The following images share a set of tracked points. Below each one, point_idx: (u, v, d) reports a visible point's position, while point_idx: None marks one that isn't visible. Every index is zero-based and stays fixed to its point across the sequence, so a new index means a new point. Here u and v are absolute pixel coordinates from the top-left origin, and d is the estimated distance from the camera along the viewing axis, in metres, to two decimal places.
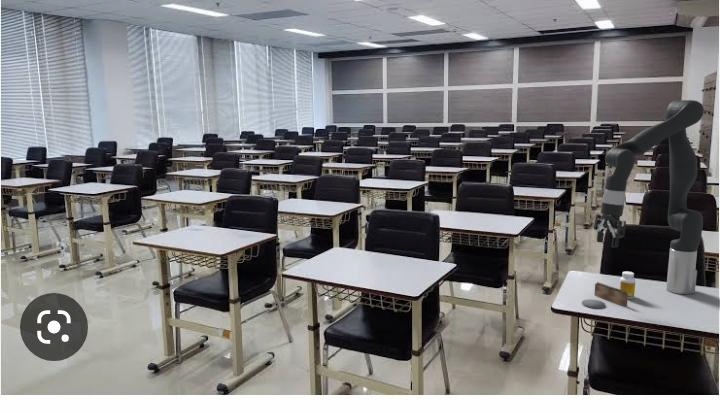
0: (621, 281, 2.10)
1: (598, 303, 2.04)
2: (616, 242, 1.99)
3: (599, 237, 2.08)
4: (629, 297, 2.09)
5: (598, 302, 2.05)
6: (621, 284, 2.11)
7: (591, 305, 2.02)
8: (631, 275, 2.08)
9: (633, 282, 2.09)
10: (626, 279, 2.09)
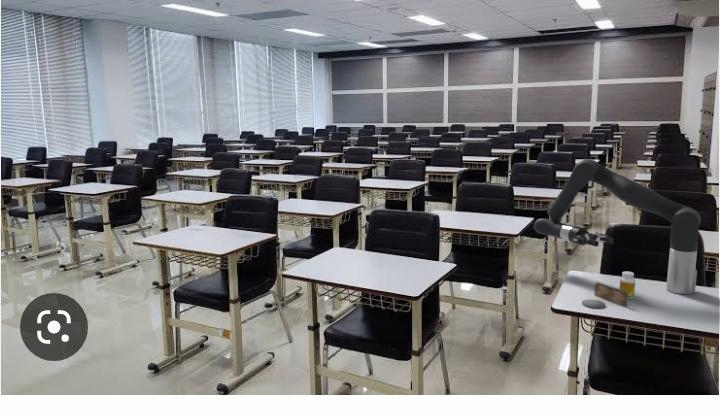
0: (621, 281, 2.10)
1: (598, 303, 2.04)
2: (591, 243, 2.18)
3: (608, 242, 2.22)
4: (629, 297, 2.09)
5: (598, 302, 2.05)
6: (621, 284, 2.11)
7: (591, 305, 2.02)
8: (631, 275, 2.08)
9: (633, 282, 2.09)
10: (626, 279, 2.09)
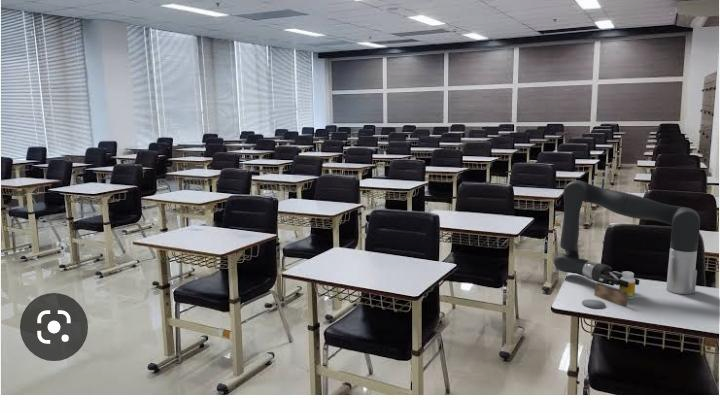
0: None
1: (598, 303, 2.04)
2: (621, 284, 2.09)
3: None
4: (629, 297, 2.09)
5: (598, 302, 2.05)
6: None
7: (591, 305, 2.02)
8: (631, 275, 2.08)
9: (633, 282, 2.09)
10: (626, 279, 2.09)
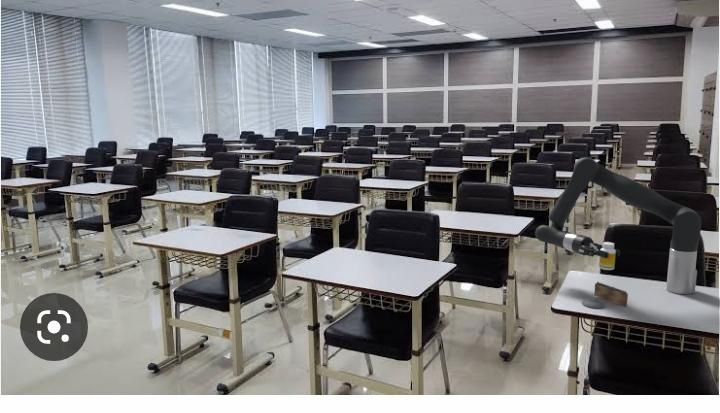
0: None
1: (598, 303, 2.04)
2: (601, 255, 2.02)
3: None
4: (609, 268, 2.02)
5: (598, 302, 2.05)
6: None
7: (591, 305, 2.02)
8: (611, 245, 2.01)
9: (613, 253, 2.01)
10: (606, 250, 2.02)
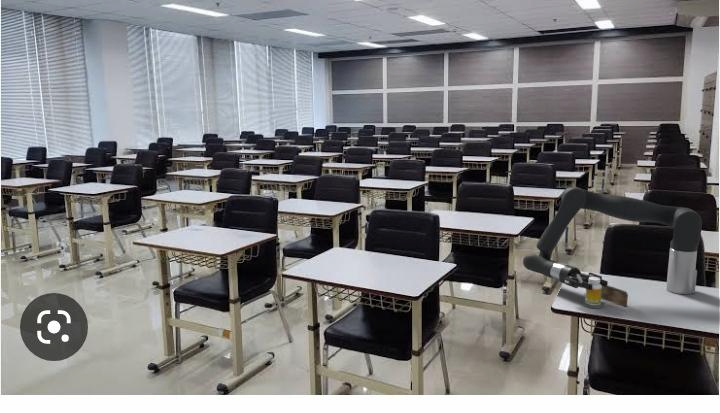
0: None
1: None
2: (585, 287, 2.01)
3: (601, 284, 2.04)
4: (595, 304, 2.02)
5: None
6: (587, 290, 2.03)
7: (591, 305, 2.02)
8: (597, 281, 2.01)
9: (599, 288, 2.01)
10: (592, 285, 2.01)
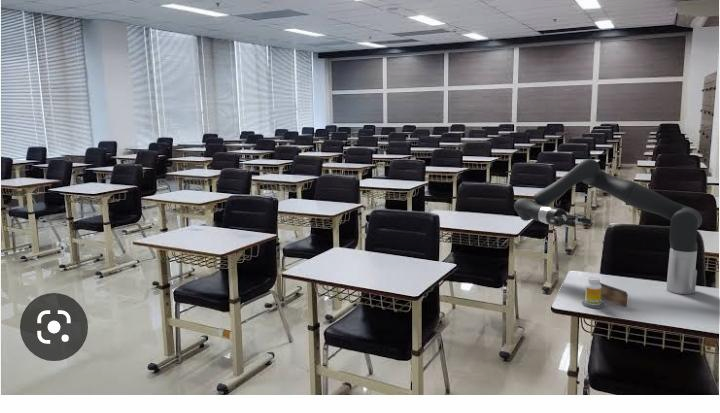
0: (587, 287, 2.03)
1: None
2: (568, 224, 2.14)
3: (585, 222, 2.18)
4: (595, 304, 2.02)
5: None
6: (587, 290, 2.03)
7: (591, 305, 2.02)
8: (597, 281, 2.01)
9: (599, 288, 2.01)
10: (592, 285, 2.01)
